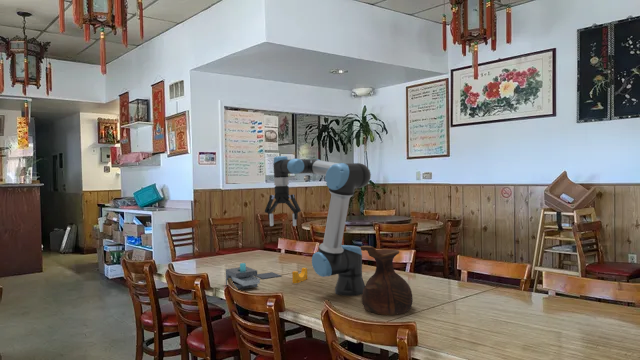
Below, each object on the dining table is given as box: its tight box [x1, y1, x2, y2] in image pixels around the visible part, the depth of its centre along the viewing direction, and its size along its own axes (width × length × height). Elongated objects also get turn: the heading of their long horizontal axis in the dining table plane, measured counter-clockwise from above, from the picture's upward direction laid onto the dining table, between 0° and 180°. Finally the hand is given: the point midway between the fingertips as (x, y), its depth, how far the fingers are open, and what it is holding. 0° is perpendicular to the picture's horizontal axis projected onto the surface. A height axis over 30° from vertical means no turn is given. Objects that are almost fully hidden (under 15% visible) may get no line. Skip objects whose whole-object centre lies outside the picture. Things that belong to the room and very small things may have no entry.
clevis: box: [225, 266, 261, 290], centre depth 258 cm, size 20×12×8 cm, turn 33°
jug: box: [360, 245, 413, 316], centre depth 206 cm, size 22×22×30 cm
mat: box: [255, 271, 282, 280], centre depth 284 cm, size 12×12×1 cm
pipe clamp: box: [292, 267, 308, 284], centre depth 269 cm, size 12×4×6 cm, turn 152°
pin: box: [239, 262, 247, 271], centre depth 260 cm, size 3×3×12 cm
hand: (283, 225), depth 258 cm, fingers open, 13 cm apart
